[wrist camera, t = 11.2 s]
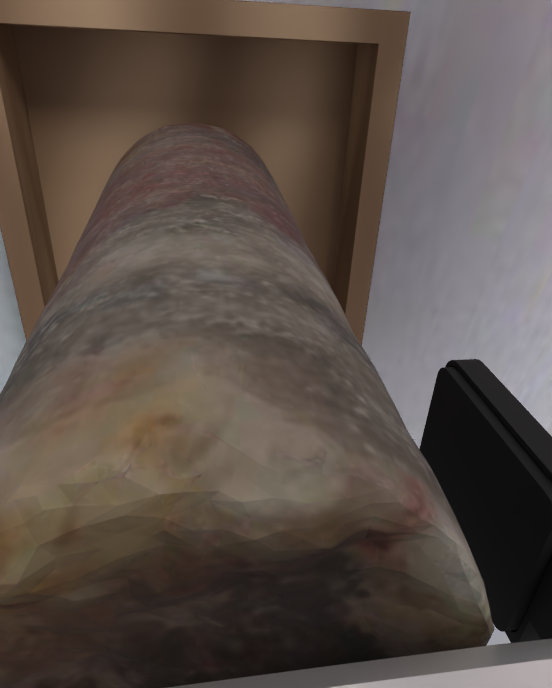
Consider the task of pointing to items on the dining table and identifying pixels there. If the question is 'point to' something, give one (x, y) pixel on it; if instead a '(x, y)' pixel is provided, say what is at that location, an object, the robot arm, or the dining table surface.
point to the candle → (211, 453)
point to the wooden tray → (196, 117)
